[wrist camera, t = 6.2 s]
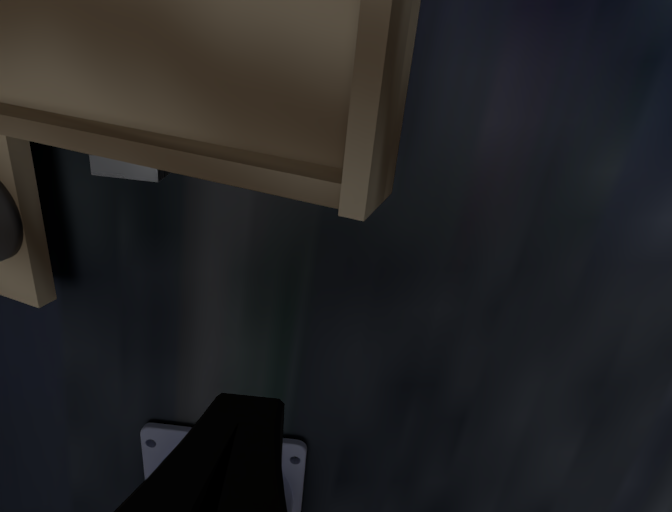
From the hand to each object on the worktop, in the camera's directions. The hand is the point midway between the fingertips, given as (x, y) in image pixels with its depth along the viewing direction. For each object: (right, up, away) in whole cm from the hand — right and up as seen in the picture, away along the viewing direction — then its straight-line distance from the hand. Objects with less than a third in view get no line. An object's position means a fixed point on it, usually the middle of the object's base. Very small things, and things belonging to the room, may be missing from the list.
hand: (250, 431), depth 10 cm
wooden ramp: (-3, +8, +7) cm, 11 cm away
